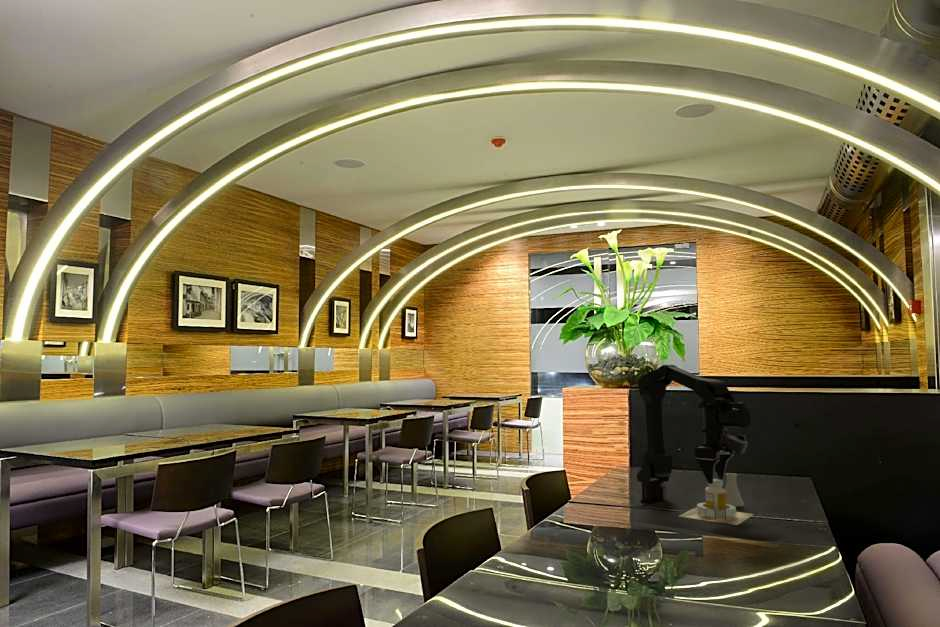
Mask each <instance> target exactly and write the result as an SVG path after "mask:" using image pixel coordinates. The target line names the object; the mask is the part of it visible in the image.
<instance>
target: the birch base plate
mask: <svg viewBox="0 0 940 627" xmlns="http://www.w3.org/2000/svg"><path fill="white" fill-rule="evenodd" d="M754 515H755V513H748V512H743V511H741V512H740V511H736V517H735V518H734V519H711V518H705V517H702V516H699V515H698V514H697V506H696V507H694V508H691V509H689V510H687V511H685V512H684V513H681V514H680V515H678V516H677V517H679V518H687V519H693V520H700V521H708V522H714V523H719V524H720V523H721V524H725V525H727V524H728V525H734V526H738V525H740V524H742V523H743V522H745V521H746V520H748V519H749V518H751V517H753V516H754Z"/></svg>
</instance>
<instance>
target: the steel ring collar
mask: <svg viewBox="0 0 940 627" xmlns="http://www.w3.org/2000/svg"><path fill="white" fill-rule="evenodd" d="M696 507H697V514H698V515H699V516H702V517H705V518H711V519H734V518H735V517H736V512H737V507H735V506H733V505H729V504H726V509H714V508H708V507H706V501H704V502H699V503H697V504H696Z"/></svg>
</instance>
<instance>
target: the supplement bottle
mask: <svg viewBox="0 0 940 627" xmlns="http://www.w3.org/2000/svg"><path fill="white" fill-rule="evenodd" d="M723 480H724V479H719V478H714V479H713V484H709V483H708V482H707V485H708V486H706V487H705V489H704V492H705V494H704V495H705V498H704V499H705V501H704V502H706V507H708V508H714V509H726V492H725V490H726V488H724V487H723V486H724V485H723V484H724V483H723Z"/></svg>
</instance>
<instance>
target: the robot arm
mask: <svg viewBox="0 0 940 627" xmlns="http://www.w3.org/2000/svg"><path fill="white" fill-rule="evenodd" d="M673 382H674V383H676V384H679V386H680V385H681V386H683V387H684V388H687V389H689V390H691V391H693V392H694V394H695V396H697V397H698V398H699V399H701V400H702V401H701V402H700V403H699V404H698V405H697V408H698V409H702V410H703V428H701V433H703V442H704V443H701V446H697V447H695V448H694V450H693V458H694V459H695V461H697V464H698V465H699V468H700V469H701V471H702V473H703V475H704V477H705V479H706V482H707V484H708V483H709V484H713V479H715V478H714V477H715V471H716V474H717V476H718V479H720V480H724V478H725V475H726V469H727V466H728V462H729V460H731V458H732V457H734V456H735V454H737V455H742V454H745V453H746V450H747V447H749V441H747V436H746V435H743V434H739V435H737V436H735V435H731V434H730V432H729V429H728V428H735V429H736V428H737V429H746V428H747V427H749V425H750V423H751V421H752V420H751V419H752V415H751V414H750V411H749V410H748V408H747V407H746V406H745V405H746V403H745V402H737V401H736V400H735V398H734V397H733V395H732V393H731V392H730V389H729V388H728V385H727V383H726V382H725V381H723V380H719V379H713V378H707V377H706V378H704V377H701V376H699V375H697V374H694V373H691V372H690V371H687V370H686V369H685V370H684V369H682V368H680V367H678V366H677V365H675V364H663V365H660V366H659V367H657V368H656V369H654V370H652V371H649V372H648V373H646V374H643V375H641V376H640V378H639V379H638V383H637V386H638V390H639V395H640V397H641V399H642V400H643V401H644V404H645V421H646V422H645V424H646V439H647V450H646V453H645V454H644V456H643V460H642V466H641V468H640V470H639V471H638V472H637V473H636V479H637V482H639V483H641V499H639V502H641V503H649V504H656V503H658V502H661V501H662V502H664V501H666V500H667V486H665V483H667V482H669V481H670V476H671V474H672V469H673V468H674V466H673V461H672V460H673V456H672V454H668V452H667V451H666V449H665V438H664V424H663V409H662V408H663V406H662V402H663V400H664V399H665V396H666V393H667V387H668V386H670V385H671V384H672V383H673ZM726 427H727V428H726Z"/></svg>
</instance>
